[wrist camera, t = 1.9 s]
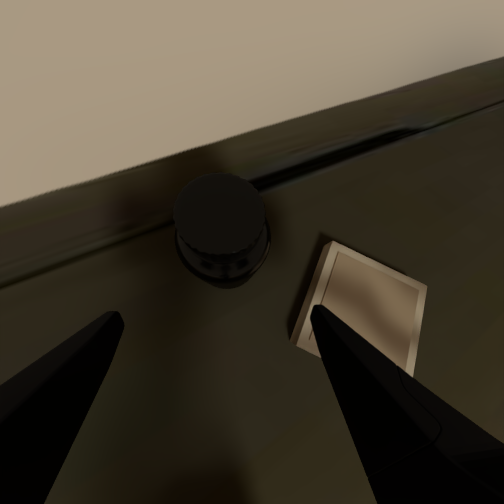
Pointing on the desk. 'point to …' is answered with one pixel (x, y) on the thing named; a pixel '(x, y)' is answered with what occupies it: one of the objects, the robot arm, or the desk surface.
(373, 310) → the base slab
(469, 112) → the desk surface
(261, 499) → the desk surface
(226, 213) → the supplement bottle
